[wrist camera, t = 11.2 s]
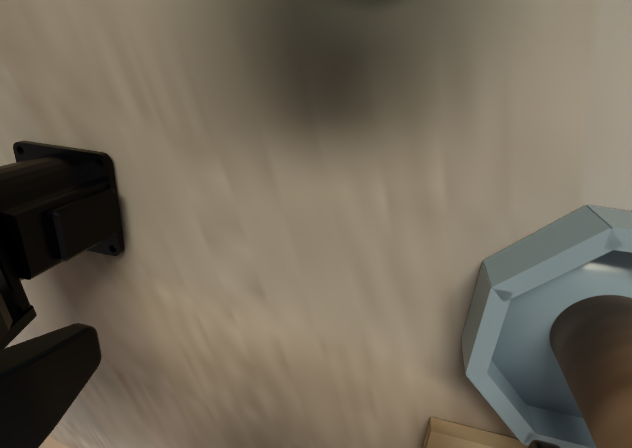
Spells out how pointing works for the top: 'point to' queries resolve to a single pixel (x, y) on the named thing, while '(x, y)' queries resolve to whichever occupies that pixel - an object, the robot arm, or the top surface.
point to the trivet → (464, 437)
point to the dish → (542, 319)
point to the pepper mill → (598, 364)
